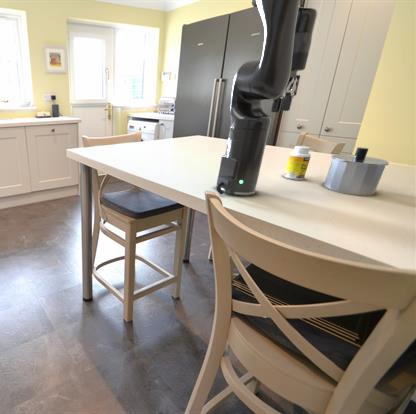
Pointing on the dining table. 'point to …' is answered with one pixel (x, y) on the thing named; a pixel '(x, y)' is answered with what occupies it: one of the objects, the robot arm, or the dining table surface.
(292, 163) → the supplement bottle
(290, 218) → the dining table surface
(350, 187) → the pot
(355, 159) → the pot lid
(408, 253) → the dining table surface
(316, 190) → the dining table surface
